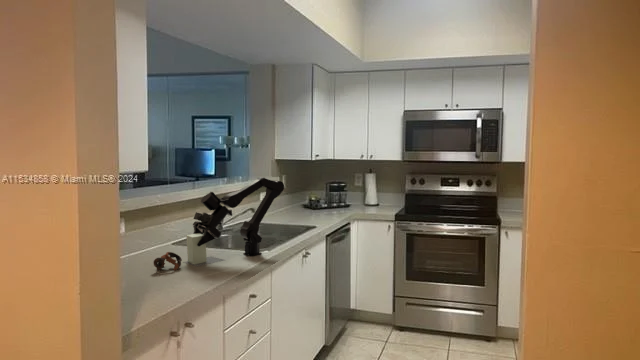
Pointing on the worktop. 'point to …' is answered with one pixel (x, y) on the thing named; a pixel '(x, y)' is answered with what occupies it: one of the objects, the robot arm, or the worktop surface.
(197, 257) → the sage cover
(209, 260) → the slate mat
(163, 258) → the red and black headphones
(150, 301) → the worktop surface
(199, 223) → the robot arm
